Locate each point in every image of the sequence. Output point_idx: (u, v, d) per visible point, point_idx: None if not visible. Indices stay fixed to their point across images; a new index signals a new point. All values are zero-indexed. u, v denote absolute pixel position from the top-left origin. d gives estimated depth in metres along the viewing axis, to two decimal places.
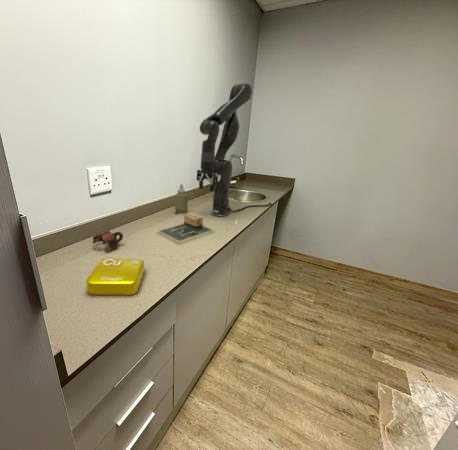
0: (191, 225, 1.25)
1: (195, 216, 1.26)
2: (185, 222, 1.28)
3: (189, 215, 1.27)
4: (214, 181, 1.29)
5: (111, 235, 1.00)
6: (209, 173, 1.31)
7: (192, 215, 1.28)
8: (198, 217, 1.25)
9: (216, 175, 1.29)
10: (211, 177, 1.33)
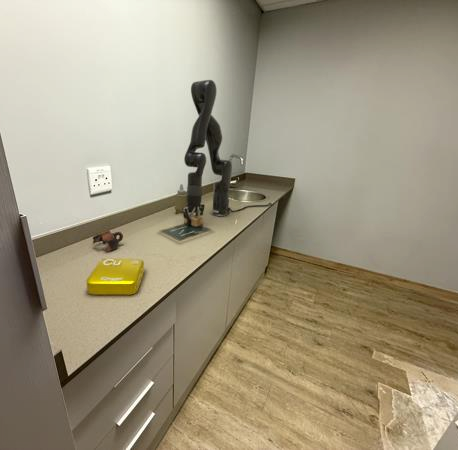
0: (191, 225, 1.25)
1: (195, 216, 1.26)
2: (185, 222, 1.28)
3: (189, 215, 1.27)
4: (183, 215, 1.23)
5: (111, 235, 1.00)
6: None
7: None
8: (198, 217, 1.25)
9: (184, 211, 1.20)
10: (190, 211, 1.23)
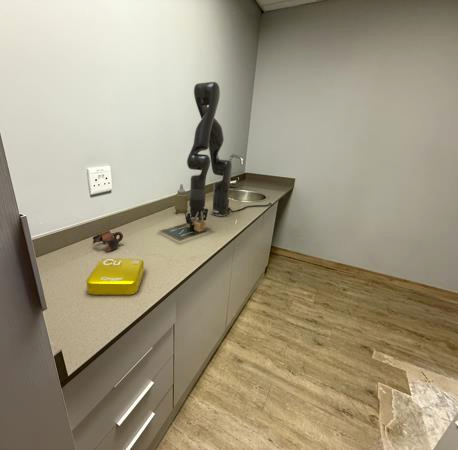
0: (194, 230, 1.19)
1: (198, 220, 1.20)
2: (188, 227, 1.22)
3: None
4: (186, 220, 1.17)
5: (111, 235, 1.00)
6: None
7: None
8: (201, 222, 1.19)
9: (186, 216, 1.14)
10: (193, 216, 1.17)
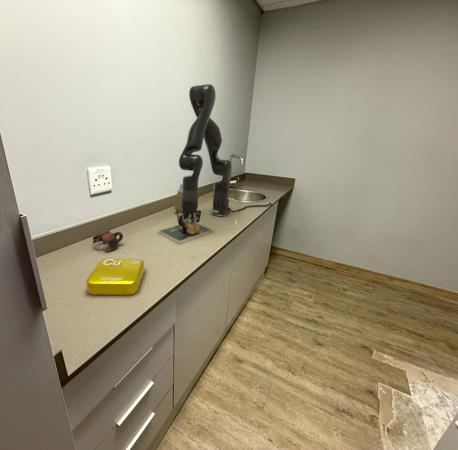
0: None
1: (191, 222, 1.17)
2: (180, 229, 1.19)
3: None
4: None
5: (111, 235, 1.00)
6: None
7: None
8: (194, 224, 1.15)
9: (179, 218, 1.11)
10: (186, 218, 1.14)
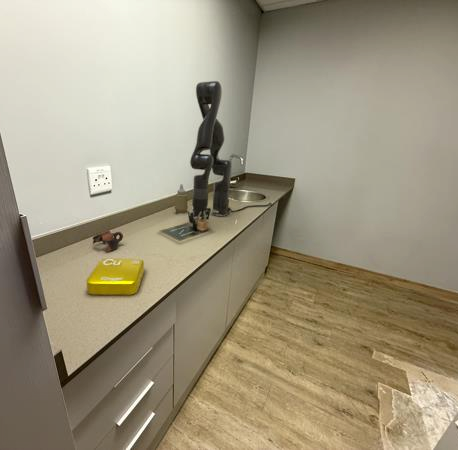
0: (197, 229, 1.20)
1: (201, 220, 1.21)
2: (190, 226, 1.23)
3: (195, 219, 1.22)
4: (189, 220, 1.18)
5: (111, 235, 1.00)
6: None
7: None
8: (204, 221, 1.20)
9: (190, 215, 1.16)
10: (196, 215, 1.18)
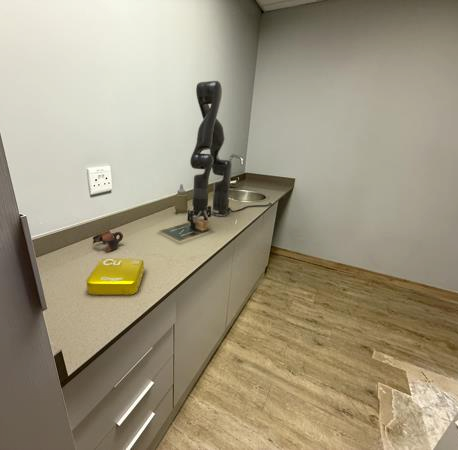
0: (197, 229, 1.20)
1: (201, 220, 1.21)
2: (190, 226, 1.23)
3: None
4: (187, 218, 1.17)
5: (111, 235, 1.00)
6: None
7: (197, 219, 1.23)
8: (204, 221, 1.20)
9: (189, 212, 1.15)
10: (196, 214, 1.18)
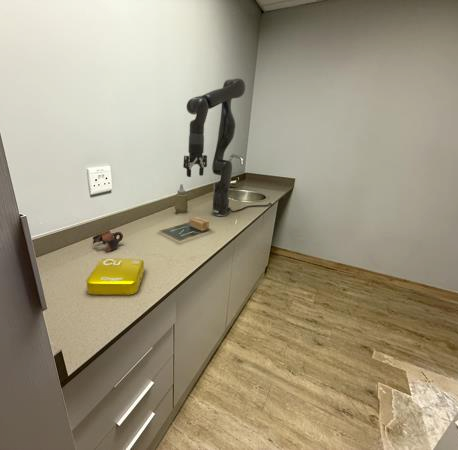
0: (197, 229, 1.20)
1: (201, 220, 1.21)
2: (190, 226, 1.23)
3: (195, 219, 1.22)
4: (183, 164, 1.19)
5: (111, 235, 1.00)
6: None
7: (197, 219, 1.23)
8: (204, 221, 1.20)
9: (185, 158, 1.17)
10: (192, 161, 1.20)
